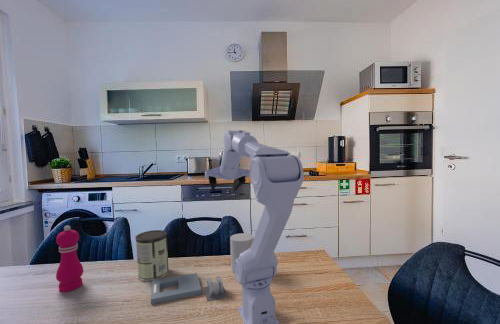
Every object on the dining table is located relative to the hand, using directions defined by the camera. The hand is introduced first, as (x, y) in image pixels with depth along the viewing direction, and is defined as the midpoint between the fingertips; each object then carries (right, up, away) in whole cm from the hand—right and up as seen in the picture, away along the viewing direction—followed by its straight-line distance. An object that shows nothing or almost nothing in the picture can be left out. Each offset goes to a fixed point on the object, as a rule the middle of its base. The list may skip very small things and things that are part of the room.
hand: (223, 189), depth 90 cm
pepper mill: (-49, -31, -7) cm, 58 cm away
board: (-13, -30, -11) cm, 35 cm away
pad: (-1, -30, -13) cm, 32 cm away
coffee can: (-25, -30, 0) cm, 39 cm away
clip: (-1, -29, -13) cm, 32 cm away
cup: (+7, -29, +1) cm, 30 cm away
